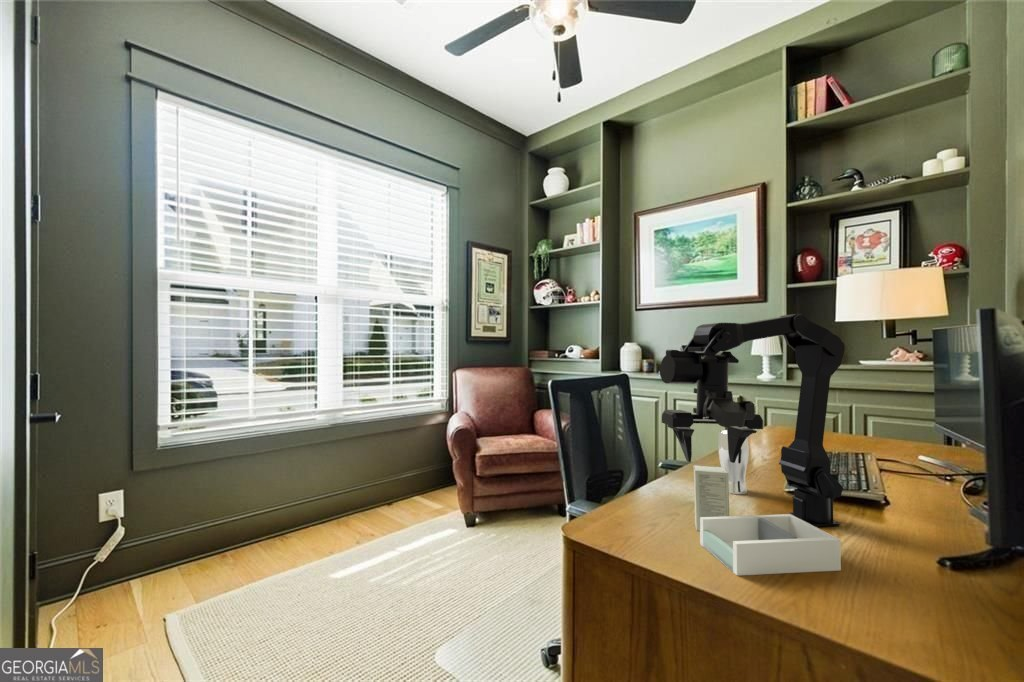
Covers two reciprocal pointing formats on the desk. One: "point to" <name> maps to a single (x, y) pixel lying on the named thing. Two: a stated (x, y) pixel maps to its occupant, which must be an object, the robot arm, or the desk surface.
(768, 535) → the tall grey panel
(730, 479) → the beer glass
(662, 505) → the desk surface
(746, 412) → the robot arm
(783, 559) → the box
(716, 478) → the skincare box
